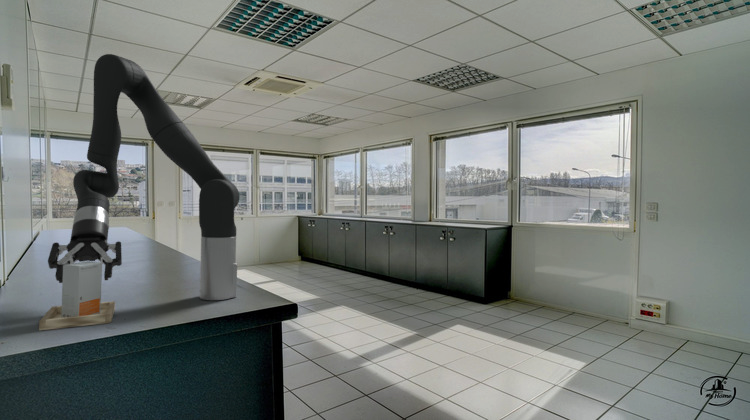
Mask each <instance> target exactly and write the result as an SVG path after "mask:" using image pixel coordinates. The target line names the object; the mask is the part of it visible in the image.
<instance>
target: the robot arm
mask: <svg viewBox="0 0 750 420" xmlns="http://www.w3.org/2000/svg"><path fill="white" fill-rule="evenodd" d="M121 93H122V94H124V95H126V96H127V97H128V98H129V100H130V101H132V102H133V104H134V105H135V106H136V107H137V109H138V110H139V111H140V113H141V115H142V116H143V119H144V123H145V126H146V130H147V133H148V134H149V136H150V138H151V139H152V140H153V142H154V143H155V144H156V145H157V147H158V148H159V149H160V150H161V152H163V154H164V155H165V156H166V157H167V158H168V159H169V160H170V161H171V162H173V163H174V164H175V166H177V167H179V168H180V169H181V170H182V171H183V172H185V173H186V174H187V175H188V176H189V177H191V179H192V180H193V181H194V182H195V183H196V185H197V186H198V188H199V189H200V192H199V196H198V197H199V198H198V220H199V221H198V222H199V227H200V233H201V234H200V269H199V271H200V272H199V275H200V277H199V278H200V279H199V299H201V300H205V301H222V300H228V299H232V298H237V293H238V292H237V288H238V287H237V286H238V263H237V262H236V260H237V259H236V257H237V225H236V223H235V208H237V206H238V205H239V202H240V191H239V190H238V188H237V185H235V184H234V183H233V182H232V181H231V180H230V179H229V178H228V177H227V176H226V175H225V174H224V173H223V172H222V171H221V170H220V169H219V168H218V167H217V166H216V165H215V163H213V161H212V160H211V158H210V157H209V155H208V154H207V153H206V151H205V149H204V148H203V147H202V145H201V144H200V142H199V141H198V140H197V138H196V137H195V136H194V135H193V133H192V132H191V130H190V129H189V128H188V127H187V125H186V124H185V123H184V122H183V121H182V119H181V118H179V117H178V114H176V113H175V112H174V110H173V109H172V108H171V107H170V106H169V104H168V103H167V102H166V101H165V100H164V98H163V97H162V96H161V95H160V93H159V92H158V89H156V87H155V86H154V84H153V83H152V81H151V80H150V78H149V76H148V75H147V74H146V71H144V69H143V68H142V67H141V66H140V65H139V64H138V63H137V62H135V61H133V60H131V59H128V58H126V57H122V56H121V55H116V54H113V53H106V54H103V55H101V56H99V58H98V59H97V60H96V62H95V64H94V69H93V104H92V105H93V111H92V112H93V115H92V127H91V134H90V137H89V143H88V149H87V153H86V158H87V160H88V161H89V162H90V163H92V164H95V165H97V166H100V167H102V168H104V169H105V171H106V172H101V171H95V170H91V169H90V170H89V169H80V170H79V171H77V172H76V173H75V174H74V175H73V181H72V185H73V189H74V191H75V194H76V198H77V206H76V213H75V214H74V215H75V216H74V218H73V221H72V228H71V234H70V241H69V243H68V244H60V243H59V242H53V243H52V245H51V248H50V252H49V255H48V259H47V264H48V268H49V269H51V270H52V269H55V280H56V281H57V282H58V283H59V284H62V283H63V265H68V264H74V263H77V262H78V261H79V262H78V263H81V262H87V261H89V262H96V261H98V262H100V263H102V265H104V274H103V275H104V276H103V277H104V281H109V279H111V278H112V276H113V268H114V267H116V266H117V267H119V266H122V264H123V263H122V260H123V259H122V242H121V241H116V242H115V243H108V240H109V238H108V237H109V229H110V217H109V216H110V215H109V214H110V206H111V204H110V200H109V199H110V198H113V197H115V196H116V195H117V194H118V192H119V189H120V185H119V183H120V182H119V176H118V158H119V153H120V148H121V144H122V129H121V125H120V121H119V116H118V103H119V99H120V95H121ZM109 250H111V252H112V253H114V254H115V258H112V257H110V256H109V255H108V253H107V252H108V251H109ZM65 251H67V253H65V255H64V256H63V257H62V258H60V259H59V257H60V255H62V254H63V253H64V252H65Z"/></svg>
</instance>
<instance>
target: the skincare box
mask: <svg viewBox="0 0 750 420" xmlns="http://www.w3.org/2000/svg"><path fill="white" fill-rule="evenodd" d="M102 276H103V264H102V263H101V262H100V261H81V262H75V263H74V264H68V265H63V283H61V284H62V285H61V286H62V287H61V288H62V290H61V306H62V311H61V318H65V317H75V316H85V315H96V314H100V309H101V302H102V278H103V277H102Z"/></svg>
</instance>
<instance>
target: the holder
mask: <svg viewBox="0 0 750 420" xmlns="http://www.w3.org/2000/svg"><path fill="white" fill-rule="evenodd" d="M115 310H116V300H114V301H101V309H100V314H96V315H85V316H75V317H65V318H61V311H62V305H58V306H57V305H54V306H51V307H50V308H49V309H48V311H47V312H46V313H45V314H44V315H43V316H42V317H41V319H40V320H39V321H38V323H39V324H38V327H39V328H38V331H47V330H57V329H65V328H67V329H68V328H76V327H83V326H93V325H95V326H96V325H104V324H111V323H112V320H113V316H114V314H115Z"/></svg>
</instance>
